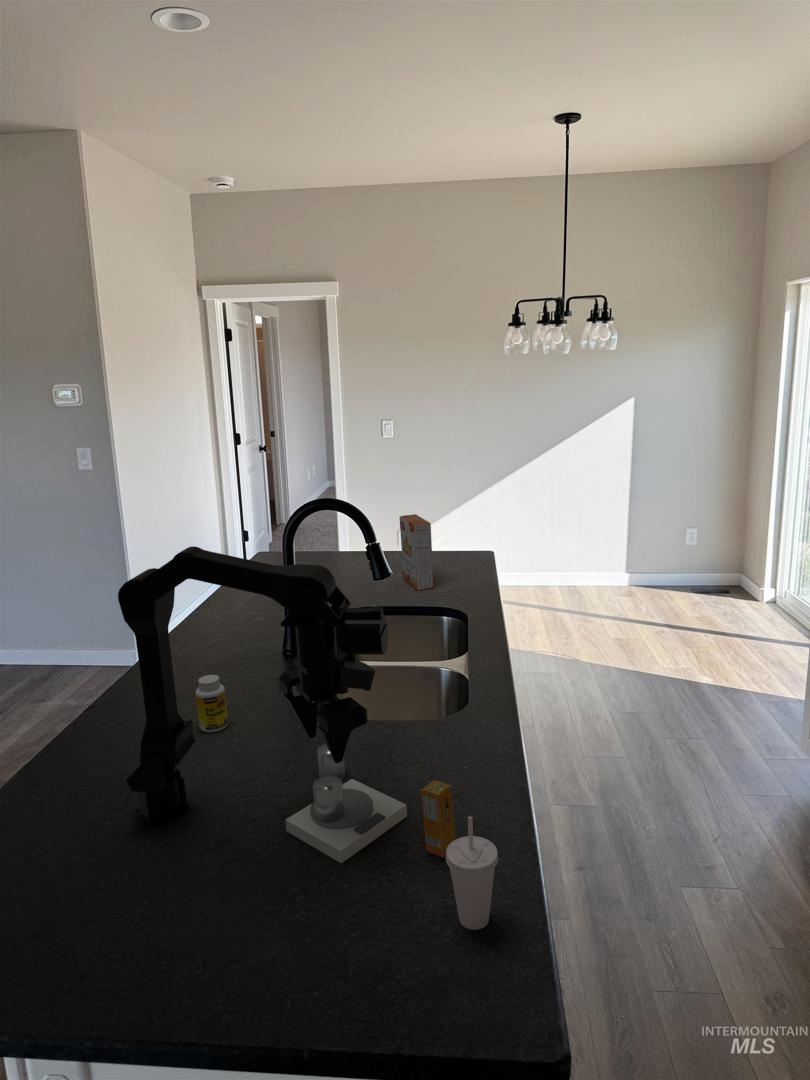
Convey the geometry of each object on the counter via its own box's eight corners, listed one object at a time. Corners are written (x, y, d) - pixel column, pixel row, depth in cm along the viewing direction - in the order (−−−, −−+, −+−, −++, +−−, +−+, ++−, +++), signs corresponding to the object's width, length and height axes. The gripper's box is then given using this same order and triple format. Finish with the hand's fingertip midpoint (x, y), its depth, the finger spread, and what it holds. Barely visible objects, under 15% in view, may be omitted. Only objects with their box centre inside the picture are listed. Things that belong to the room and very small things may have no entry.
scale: (341, 863, 105) (339, 847, 105) (286, 831, 113) (285, 816, 113) (407, 816, 115) (406, 801, 115) (352, 789, 123) (351, 775, 123)
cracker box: (402, 579, 239) (398, 515, 234) (419, 577, 241) (416, 513, 236) (415, 591, 226) (412, 524, 221) (434, 588, 227) (431, 521, 223)
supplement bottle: (205, 736, 144) (199, 687, 141) (196, 725, 148) (189, 678, 146) (233, 727, 147) (227, 679, 144) (223, 717, 151) (217, 670, 149)
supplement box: (437, 838, 110) (434, 777, 107) (456, 847, 107) (454, 785, 105) (423, 850, 107) (420, 788, 105) (442, 859, 105) (440, 796, 103)
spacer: (350, 812, 113) (348, 782, 111) (329, 826, 110) (326, 796, 108) (330, 801, 116) (328, 773, 114) (309, 815, 112) (306, 785, 111)
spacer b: (331, 785, 125) (329, 758, 124) (314, 776, 128) (311, 750, 127) (350, 774, 128) (348, 747, 127) (333, 766, 131) (330, 740, 130)
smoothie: (495, 899, 97) (493, 803, 94) (503, 936, 91) (501, 835, 87) (446, 902, 97) (442, 806, 93) (451, 939, 90) (446, 838, 87)
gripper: (397, 659, 105) (402, 759, 109) (338, 623, 121) (344, 711, 125) (325, 679, 100) (333, 783, 104) (273, 639, 116) (282, 730, 119)
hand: (325, 749), depth 113 cm, fingers open, 9 cm apart
